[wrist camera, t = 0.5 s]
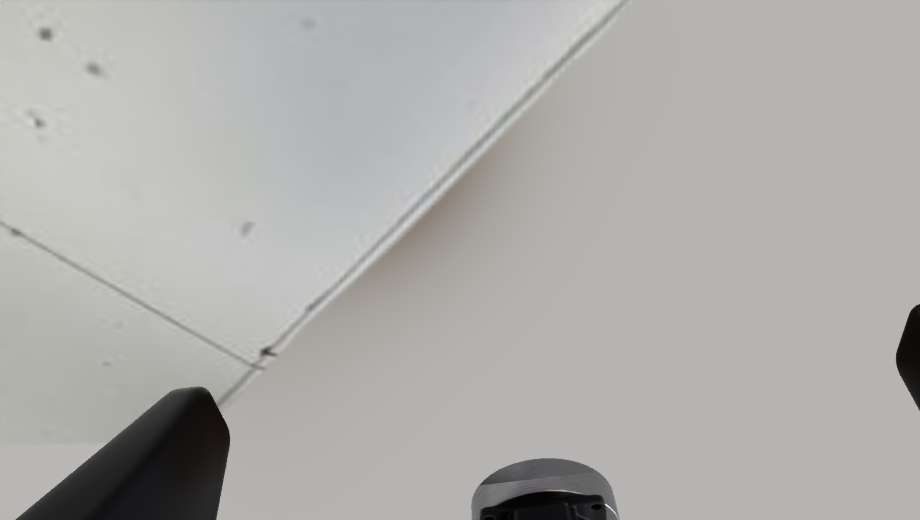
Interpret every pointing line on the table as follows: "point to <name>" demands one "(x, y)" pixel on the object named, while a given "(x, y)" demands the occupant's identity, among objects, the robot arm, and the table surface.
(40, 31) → the table surface
